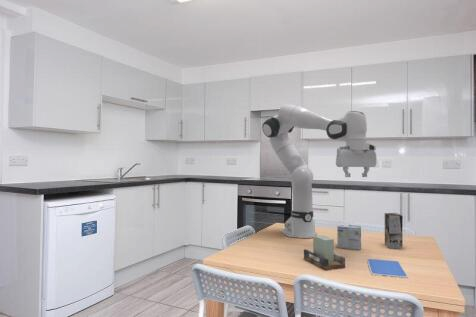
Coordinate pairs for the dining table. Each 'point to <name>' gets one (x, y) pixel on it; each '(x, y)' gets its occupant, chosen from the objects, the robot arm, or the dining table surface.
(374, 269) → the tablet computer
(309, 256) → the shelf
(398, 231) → the coffee box
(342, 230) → the light bulb box
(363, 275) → the dining table surface
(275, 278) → the dining table surface
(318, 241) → the plain green carton
